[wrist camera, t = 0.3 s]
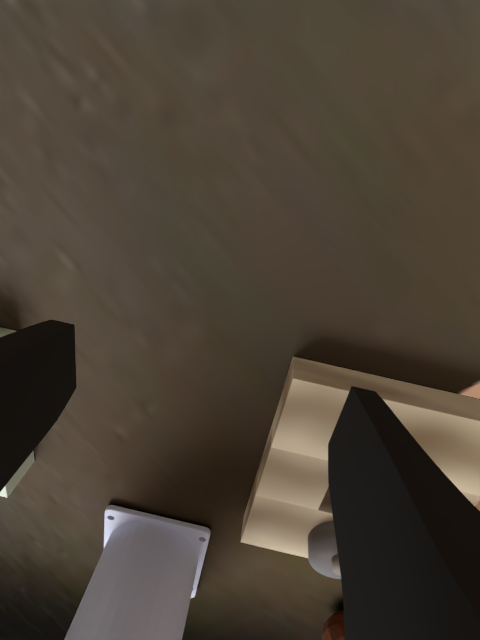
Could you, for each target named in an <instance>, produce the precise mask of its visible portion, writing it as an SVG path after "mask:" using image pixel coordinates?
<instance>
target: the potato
mask: <svg viewBox="0 0 480 640" xmlns="http://www.w3.org/2000/svg"><path fill="white" fill-rule="evenodd" d="M322 636H323V640H345V629H344V610H342V611H339V612H337V613H334V614H333V615H332V616H331V617H330V618H329V619H328V620H327V621H326V623H325V624H324V629H323V633H322Z"/></svg>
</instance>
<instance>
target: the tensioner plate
mask: <svg viewBox="0 0 480 640" xmlns="http://www.w3.org/2000/svg"><path fill="white" fill-rule="evenodd" d="M351 386H354V387H359V388H363V389H368V390H372V391H376V392H377V393H378V395H379V396H380V397H381V398H382V399H383V400H384V402H385V403H386V404H387V405H388V406H389V408H390V409H391V410H392V411H393V413H394V414H395V415H396V416H397V418H398V419H399V420H400V421H401V423H402V424H403V425H404V426H405V428H406V429H407V430H408V431H409V433H410V434H411V435H412V436H413V437H414V439H415V440H416V441H417V442H418V444H419V445H420V446H421V447H422V448H423V450H424V451H425V452H426V453H427V454H428V455H429V457H430V458H431V459H432V460H433V461H434V462H435V464H436V465H437V466H438V467H439V468H440V469H441V470H442V472H443V473H444V474H445V475H446V476H447V477H448V478H449V479H450V480H451V482H452V483H453V484H454V485H455V486H456V487H457V488H458V489H459V490H460V491H461V492H462V493H463V495H464V496H465V497H466V498H467V499H468V500H469V501H470V502H471V503H472V504H473V505H474V506H476V505H477V503H478V502H479V501H480V399H477V398H473V397H468V396H464V395H460V394H455V393H451V392H447V391H442V390H438V389H433V388H429V387H425V386H420V385H416V384H412V383H407V382H403V381H398V380H394V379H390V378H385V377H381V376H376V375H372V374H368V373H363V372H359V371H354V370H350V369H346V368H341V367H337V366H333V365H328V364H324V363H319V362H315V361H311V360H306V359H302V358H297V357H293V358H292V361H291V365H290V368H289V371H288V374H287V377H286V381H285V384H284V387H283V390H282V394H281V397H280V400H279V403H278V406H277V410H276V413H275V416H274V419H273V423H272V426H271V429H270V432H269V435H268V439H267V442H266V445H265V448H264V452H263V455H262V458H261V461H260V464H259V468H258V471H257V474H256V477H255V481H254V484H253V487H252V490H251V493H250V497H249V500H248V503H247V506H246V510H245V513H244V517H243V525H242V534H241V542H242V543H246V544H250V545H255V546H259V547H263V548H267V549H271V550H276V551H280V552H284V553H288V554H293V555H297V556H301V557H305V558H308V559H309V563H310V565H311V566H312V567H313V568H314V569H315V570H316V571H317V572H319V573H320V574H323V575H325V576H327V577H331V578H336V579H341V572H340V565H339V558H338V551H337V543H336V536H335V529H334V522H333V514H332V507H331V499H330V491H329V483H328V443H329V441H330V438H331V436H332V433H333V431H334V428H335V426H336V423H337V421H338V418H339V416H340V414H341V411H342V409H343V406H344V404H345V401H346V399H347V396H348V394H349V391H350V389H351Z"/></svg>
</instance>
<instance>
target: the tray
mask: <svg viewBox="0 0 480 640" xmlns="http://www.w3.org/2000/svg"><path fill="white" fill-rule="evenodd" d="M13 332H16V331H15V330H10V329H6V328H1V327H0V337H2V336H5V335H8V334H10V333H13ZM33 463H34V451H33V452H32V453H31V454H30V455H29V457H28V458H27V459H26V460H25V462H24V463H23V464H22V465H21V467H20V468H19V469H18V470H17V472H16V473H15V474H14V475H13V477H12V478H11V479H10V480H9V482H8V483H7V484H6V485H5V487H4V488H3V489H2V490H1V492H0V496H3V497H8V496H9V495H10V493H11V492H12V491H13V489H14V488H15V487H16V485H17V484H18V483H19V481H20V480H21V479H22V477H23V476H24V475H25V473H26V472H27V471H28V469H29V468H30V467H31V465H32V464H33Z"/></svg>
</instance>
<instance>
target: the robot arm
mask: <svg viewBox="0 0 480 640" xmlns="http://www.w3.org/2000/svg"><path fill="white" fill-rule="evenodd" d="M75 389H76V363H75V329H74V325H73V324H69V323H64V322H60V321H55V320H48V321H45V322H41V323H38V324H35V325H32V326H30V327H27V328H24V329H21V330H19V331H16V332H13V333H10V334H8V335H5V336H2V337H0V492H1V490H2V489H3V488H4V487H5V485H6V484H7V483H8V482H9V480H10V479H11V478H12V477H13V475H14V474H15V473H16V472H17V470H18V469H19V468H20V467H21V465H22V464H23V463H24V462H25V460H26V459H27V458H28V457H29V455H30V454H31V453H32V452H33V450H34V449H35V448H36V446H37V445H38V444H39V443H40V441H41V440H42V439H43V438H44V436H45V435H46V434H47V432H48V431H49V430H50V429H51V427H52V426H53V425H54V423H55V422H56V421H57V419H58V418H59V416H60V414H61V413H62V411H63V409H64V408H65V406H66V405H67V403H68V401H69V399H70V398H71V396H72V394H73V392H74V391H75ZM328 483H329V491H330V499H331V507H332V514H333V522H334V529H335V536H336V543H337V551H338V558H339V565H340V572H341V582H342V592H343V607H344V629H345V640H480V511H479V510H478V509H477V508H476V507H475V506H474V505H473V504H472V503H471V502H470V501H469V500H468V499H467V498H466V497H465V496H464V495H463V493H462V492H461V491H460V490H459V489H458V488H457V487H456V486H455V485H454V484H453V483H452V482H451V480H450V479H449V478H448V477H447V476H446V475H445V474H444V473H443V472H442V470H441V469H440V468H439V467H438V466H437V465H436V464H435V462H434V461H433V460H432V459H431V458H430V457H429V455H428V454H427V453H426V452H425V451H424V450H423V448H422V447H421V446H420V445H419V444H418V442H417V441H416V440H415V439H414V437H413V436H412V435H411V434H410V433H409V431H408V430H407V429H406V428H405V426H404V425H403V424H402V423H401V421H400V420H399V419H398V418H397V416H396V415H395V414H394V413H393V411H392V410H391V409H390V408H389V406H388V405H387V404H386V403H385V402H384V400H383V399H382V398H381V397H380V396H379V395H378V393H377V392H376V391H372V390H368V389H363V388H359V387H354V386H351V389H350V391H349V394H348V396H347V399H346V401H345V404H344V406H343V409H342V411H341V414H340V416H339V418H338V421H337V423H336V426H335V428H334V431H333V433H332V436H331V438H330V441H329V443H328ZM210 534H211V531H210V529H209V528H207V527H204V526H199V525H195V524H191V523H187V522H182V521H178V520H174V519H170V518H166V517H161V516H157V515H153V514H149V513H144V512H140V511H136V510H132V509H127V508H123V507H119V506H115V505H109V506H107V508H106V510H105V521H104V550H103V553H102V555H101V557H100V559H99V562H98V564H97V566H96V569H95V571H94V573H93V575H92V578H91V580H90V582H89V585H88V587H87V589H86V591H85V594H84V596H83V598H82V601H81V603H80V605H79V607H78V610H77V612H76V614H75V617H74V619H73V621H72V624H71V626H70V628H69V630H68V633H67V635H66V637H65V640H182V636H183V632H184V627H185V622H186V618H187V613H188V608H189V603H190V599H191V598H193V597H195V594H196V590H197V586H198V582H199V578H200V574H201V570H202V566H203V562H204V558H205V554H206V550H207V546H208V542H209V538H210Z"/></svg>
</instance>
